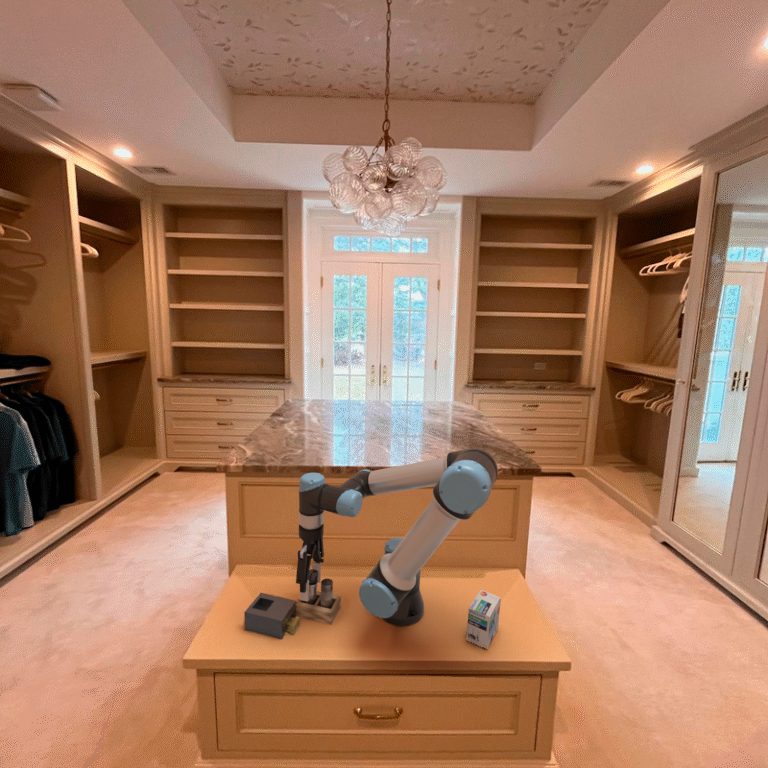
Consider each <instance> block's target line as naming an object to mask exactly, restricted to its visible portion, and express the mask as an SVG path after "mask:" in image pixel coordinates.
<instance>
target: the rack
mask: <svg viewBox="0 0 768 768" xmlns="http://www.w3.org/2000/svg"><path fill="white" fill-rule="evenodd" d="M333 586H334V581H333V579H331V578H323V579H321V582H320V591H318V590H317V597H316V603H315V605H311V604H306V603H305V601H303V600H299V599H300V597H299V599H298V600H296V616H297V617H300V619H305V620H309V621H312V622H313V621H314V622H317V623H322V624H326V625H328V626H329V625H330V626H332V624H333V622H334V621H335V619H336V616H337V615H338V613H339V611H340V610H341V607H342V605H341V603H342V601H341V599H342V596H341V595H336V594H333V591H334V588H333Z"/></svg>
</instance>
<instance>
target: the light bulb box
mask: <svg viewBox="0 0 768 768" xmlns="http://www.w3.org/2000/svg"><path fill="white" fill-rule="evenodd" d="M501 602H502V597H500V596H497V595H495V594H493V593H491V592H488V591H485V590H484V589H480V590H479V591H478V593H477V595H476V596H475V597H474V599H473V600H472V602H471V604H470V605H469V607H468V612H467V615H468V616H467V626H466V636H465V637H466V638H465V639H466V641H467V642H469V643H471V642H472V643H471V644H473V643H475V644H477V645H479V646H478V647H480V646H482V647H484V648H488V647H490V646H491V644H490V643H492V642H491V641H493V640H494V638H495V636H496V634H497V632H496V631H498V630H499V622H500V621H499V620H500V613H501V611H500V610H501ZM497 629H498V630H497ZM495 633H496V634H495ZM494 635H495V636H494ZM493 637H494V638H493ZM492 639H493V640H492ZM475 644H474V645H475ZM477 645H476V646H477ZM489 645H490V646H489ZM482 647H481V648H482ZM484 648H483V649H484ZM488 649H489V648H488Z"/></svg>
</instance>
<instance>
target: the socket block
mask: <svg viewBox="0 0 768 768" xmlns="http://www.w3.org/2000/svg"><path fill="white" fill-rule="evenodd" d="M296 603H297V600H294V599H290V598H287V597H281V596H277V595H274V594H268V593H264V592H259V594H258V596H256V598H255V599H254V600H253V601H252V602H251V604H249V605H248V607H247V608H246V610H245V611H244V613H243V614H244V631H247V632H251V633H256V634H259V635H264V636H267V637H271V638H275V639H277V640H283V638H284V637H285V635H286V631H285V625H286V623H287V622H288V620H289V619H290V617H293V618H295V617H296Z"/></svg>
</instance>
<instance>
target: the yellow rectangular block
mask: <svg viewBox="0 0 768 768" xmlns="http://www.w3.org/2000/svg"><path fill="white" fill-rule="evenodd" d="M300 621H301V618H300V617H297V616H296V617H295V618H293V617H290V619H289V620H288V622H287V623H286V625H285V632H288V633H289V634H291V635H294V634H295V633H296V631H297V630H298V628H299V627H300Z"/></svg>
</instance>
